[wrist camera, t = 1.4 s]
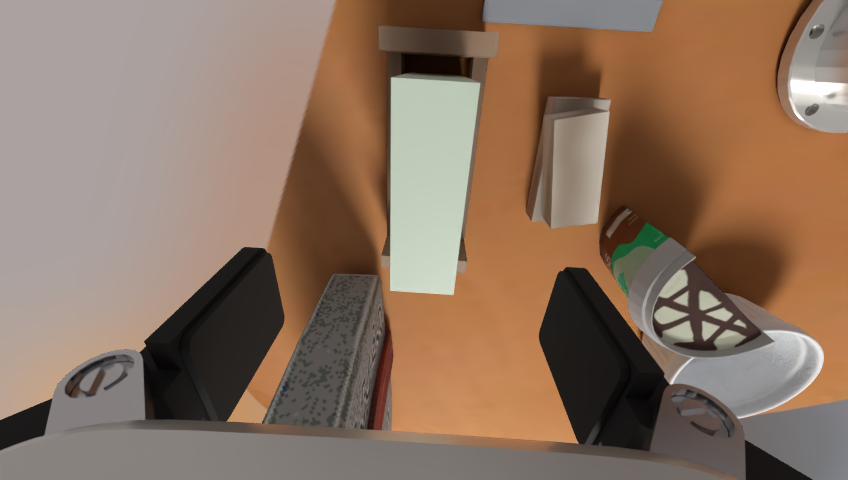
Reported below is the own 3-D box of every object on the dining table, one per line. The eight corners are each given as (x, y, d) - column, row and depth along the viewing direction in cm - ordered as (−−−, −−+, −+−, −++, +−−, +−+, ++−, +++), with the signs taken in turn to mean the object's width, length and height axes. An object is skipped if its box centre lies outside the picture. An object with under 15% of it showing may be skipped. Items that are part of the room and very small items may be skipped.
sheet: (462, 75, 25) (480, 83, 14) (447, 215, 30) (453, 294, 20) (410, 72, 25) (390, 77, 14) (406, 212, 30) (390, 290, 20)
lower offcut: (596, 96, 25) (611, 99, 23) (566, 211, 30) (576, 222, 28) (546, 95, 25) (556, 98, 23) (524, 210, 30) (531, 221, 28)
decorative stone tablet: (212, 487, 16) (317, 598, 33) (337, 494, 16) (379, 602, 33) (325, 258, 32) (357, 411, 49) (389, 260, 32) (399, 413, 49)
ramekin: (787, 305, 34) (863, 357, 28) (693, 378, 40) (739, 434, 34) (689, 264, 32) (747, 311, 26) (605, 348, 38) (637, 401, 32)
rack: (486, 40, 23) (500, 32, 18) (460, 238, 31) (465, 273, 26) (391, 34, 23) (378, 25, 18) (390, 234, 32) (381, 267, 26)
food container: (559, 239, 31) (607, 307, 22) (614, 195, 29) (691, 252, 20) (632, 304, 35) (697, 385, 26) (686, 269, 32) (778, 345, 23)
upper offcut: (593, 107, 23) (609, 111, 21) (584, 210, 27) (597, 222, 25) (543, 115, 24) (554, 120, 22) (541, 215, 28) (550, 228, 26)
